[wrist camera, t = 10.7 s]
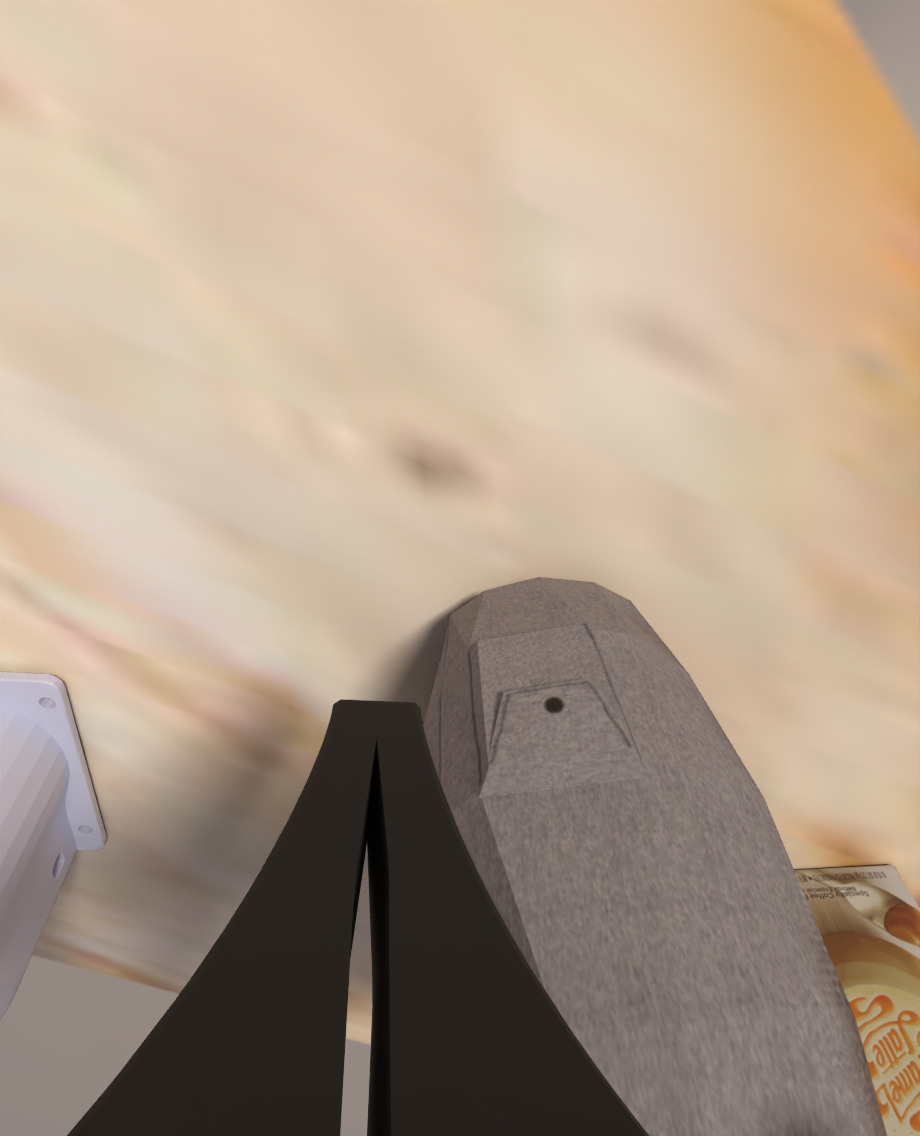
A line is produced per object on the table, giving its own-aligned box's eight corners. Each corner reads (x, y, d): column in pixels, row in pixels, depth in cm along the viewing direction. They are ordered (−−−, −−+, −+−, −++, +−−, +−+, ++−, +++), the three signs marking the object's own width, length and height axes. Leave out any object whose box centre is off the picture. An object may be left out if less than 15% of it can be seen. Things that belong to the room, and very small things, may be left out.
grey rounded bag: (607, 806, 29) (870, 1731, 13) (412, 824, 29) (423, 1788, 12) (647, 497, 20) (1664, 2210, 4) (366, 518, 20) (203, 2435, 4)
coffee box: (898, 858, 33) (1223, 1364, 20) (854, 925, 37) (1104, 1389, 24) (713, 871, 33) (922, 1398, 19) (688, 938, 36) (849, 1418, 23)
